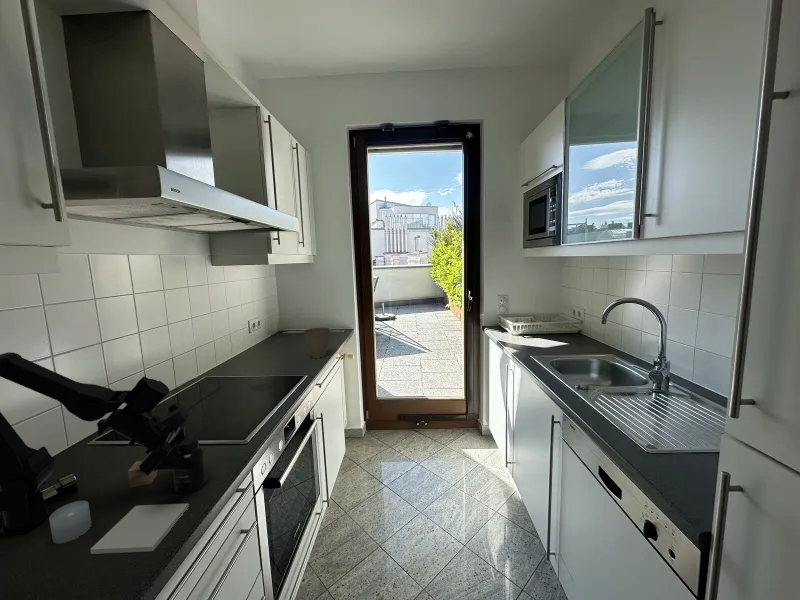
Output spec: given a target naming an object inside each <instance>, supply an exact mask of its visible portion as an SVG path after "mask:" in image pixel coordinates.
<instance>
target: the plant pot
mask: <svg viewBox="0 0 800 600" xmlns="http://www.w3.org/2000/svg"><path fill="white" fill-rule="evenodd" d="M330 333H331V328H329V327H313V328H307V329H304V330H303V335H304V339H305V344H306V347H307V349H308V351H309V354H310V356H311V358H312V357H314V358H313V359H315V358H318V359H321V358H320V357H323V358H325V357H326V355H327V351H328V346H329V342H330V337H331V335H330ZM324 356H325V357H324Z"/></svg>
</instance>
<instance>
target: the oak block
mask: <svg viewBox="0 0 800 600" xmlns="http://www.w3.org/2000/svg"><path fill="white" fill-rule="evenodd" d="M142 461H143V459H142V460H136V461H135V462H134V464H132V466H131V467H129V469H128V471H127V473H128V474H127V475H128V480H129V488H135V487H141V486H147V485H151V484H152V483H153V481H154V480H155V478H156V477H157V475H158V470H156V471H152V472H151V473H150V474H149V475H148V476H147V475H146V474H144V473H142V472H140V468H139V466H140V464H141V462H142Z"/></svg>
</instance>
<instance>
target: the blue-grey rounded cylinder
mask: <svg viewBox="0 0 800 600" xmlns="http://www.w3.org/2000/svg"><path fill="white" fill-rule="evenodd" d="M48 519H49V525H50V531H51V538H52V542H53V543H54V544H58V545H59V544H66V543H68V542H71V541H74V540H76V539H78V538H79V536H80V537H82V536H83V535H84V534H86V533H87V532H88V531H89V530H90V529H91V528H92V525H91V524H92V517H91V511H90V506H89V502H88V501H87V500H77V501H73V502H70V503H67V504H65V505H63V506H61V507H59V508H58V509H56V510H53V513H52V514H51V515H49V516H48ZM90 527H91V528H90ZM81 535H82V536H81Z"/></svg>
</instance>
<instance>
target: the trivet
mask: <svg viewBox="0 0 800 600" xmlns="http://www.w3.org/2000/svg"><path fill="white" fill-rule="evenodd" d="M188 507H189V508H190V505H189V503H171V504H170V503H169V504H168V503H166V504H148V505H143V504H142V505H134V507H133V508H132V509H131V510H129V512H128V513H126V515H125V516H123V517H122V518H121V519H120V520H119V521H118V522H117V523H116V524H115V525H114V526H113V527H112V528H111V529H110V530H109V531H108V532H107V533H106V534H104V535H103V537H101V539H99V540H98V542H96V543H95V544H94V545H93V546H92V547H91V548H90V554H91V555H96V554H97V555H98V554H100V555H101V554H121V553H123V554H125V553H142V552H143V553H144V552H146V553H147V552H154V551H155V550H156V549H157V547H158V546H159V545H160V543H161V542H162V541H163V540H164V538H166V536H167V535H168V534H169V533H170V531H171V530H172V529H173V528H172V527H175V525H176V524H177V523H178V522H177V521H179V520H180V519H181V518H182V517H181V516H184V514H185V513H186V512H187V511H188V509H189V508H188ZM187 508H188V509H187ZM186 510H187V511H186ZM185 511H186V512H185ZM184 512H185V513H184ZM183 513H184V514H183ZM180 517H181V518H180ZM179 518H180V519H179ZM178 519H179V520H178ZM176 522H177V523H176ZM175 523H176V524H175ZM174 524H175V525H174ZM171 528H172V529H171Z"/></svg>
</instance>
